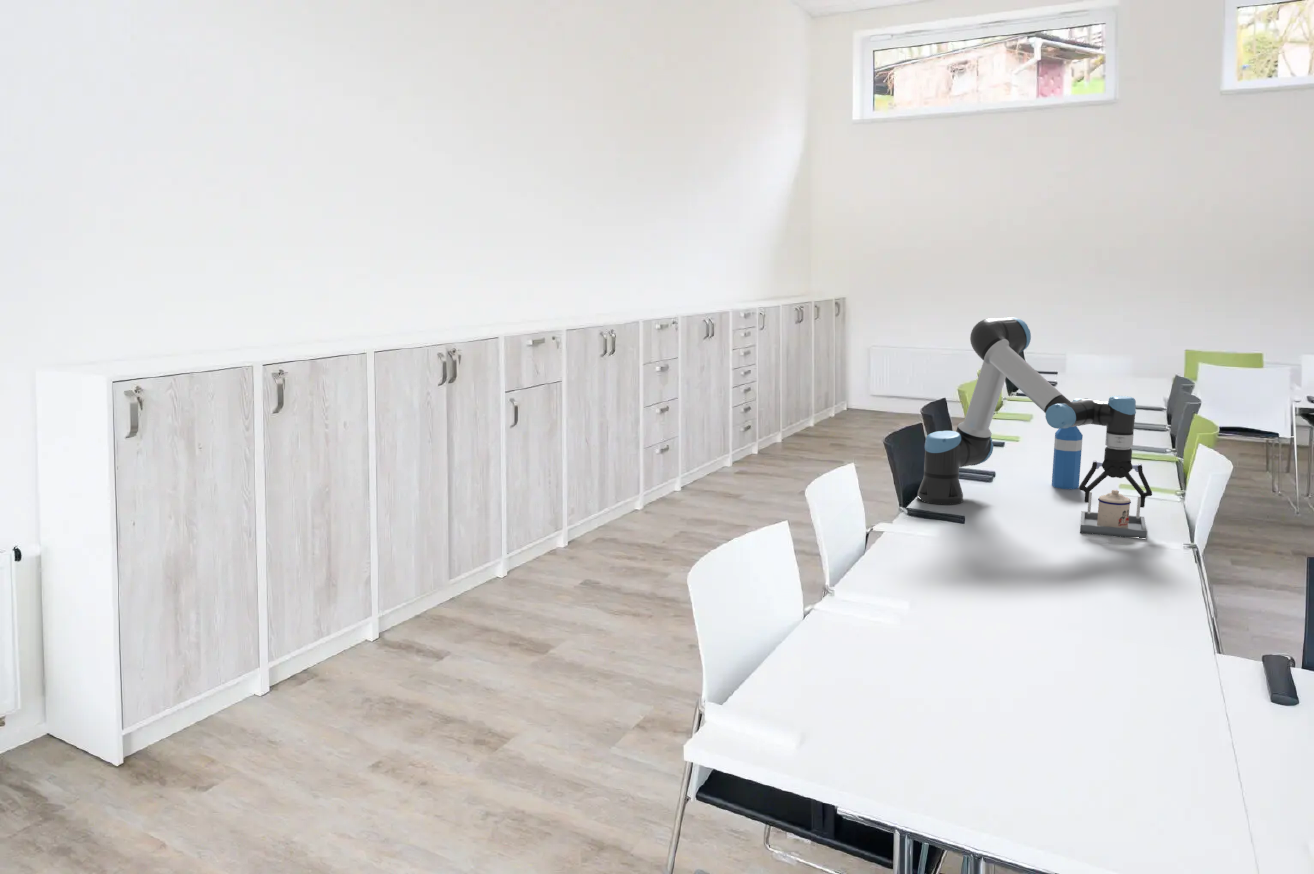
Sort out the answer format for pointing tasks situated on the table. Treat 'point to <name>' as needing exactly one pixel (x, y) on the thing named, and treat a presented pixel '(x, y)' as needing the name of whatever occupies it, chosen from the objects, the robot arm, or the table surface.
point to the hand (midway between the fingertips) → (1113, 515)
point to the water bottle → (1067, 458)
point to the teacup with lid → (1113, 510)
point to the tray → (1090, 527)
